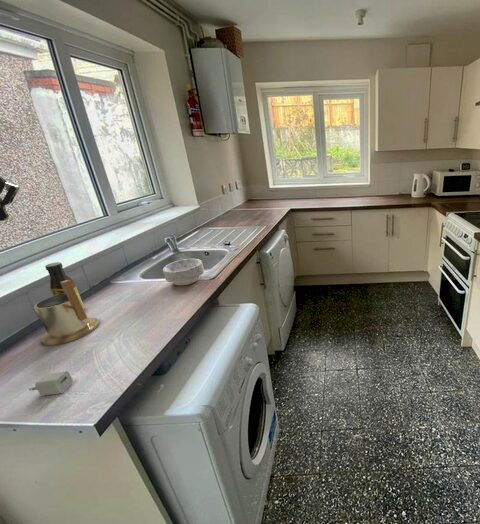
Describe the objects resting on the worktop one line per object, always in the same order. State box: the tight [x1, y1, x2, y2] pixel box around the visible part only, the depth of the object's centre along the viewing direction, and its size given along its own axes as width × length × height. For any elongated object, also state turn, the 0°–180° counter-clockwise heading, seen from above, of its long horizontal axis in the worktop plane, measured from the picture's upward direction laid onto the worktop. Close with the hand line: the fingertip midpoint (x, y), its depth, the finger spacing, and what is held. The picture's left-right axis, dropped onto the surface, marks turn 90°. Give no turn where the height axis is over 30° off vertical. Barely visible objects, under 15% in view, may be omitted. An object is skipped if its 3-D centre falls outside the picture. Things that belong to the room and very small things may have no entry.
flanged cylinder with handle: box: [33, 280, 90, 339], centre depth 89 cm, size 16×10×19 cm, turn 69°
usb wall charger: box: [28, 370, 74, 397], centre depth 70 cm, size 4×7×4 cm, turn 99°
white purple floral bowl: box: [162, 258, 205, 286], centre depth 126 cm, size 15×15×8 cm
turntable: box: [40, 317, 100, 346], centre depth 94 cm, size 14×14×1 cm
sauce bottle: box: [45, 261, 86, 311], centre depth 101 cm, size 6×6×20 cm
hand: (3, 220), depth 84 cm, fingers closed
